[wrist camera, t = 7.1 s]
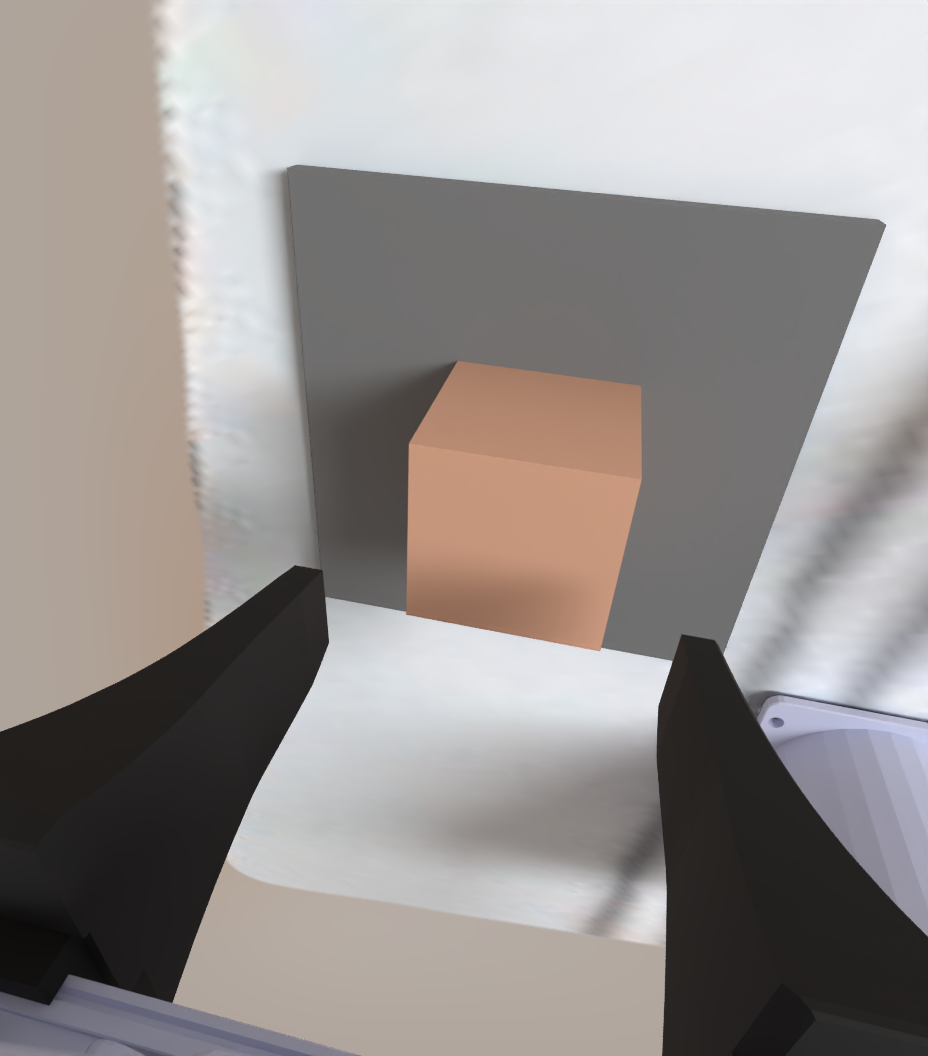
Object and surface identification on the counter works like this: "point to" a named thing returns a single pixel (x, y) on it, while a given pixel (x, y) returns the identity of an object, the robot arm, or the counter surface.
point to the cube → (522, 502)
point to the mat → (571, 361)
